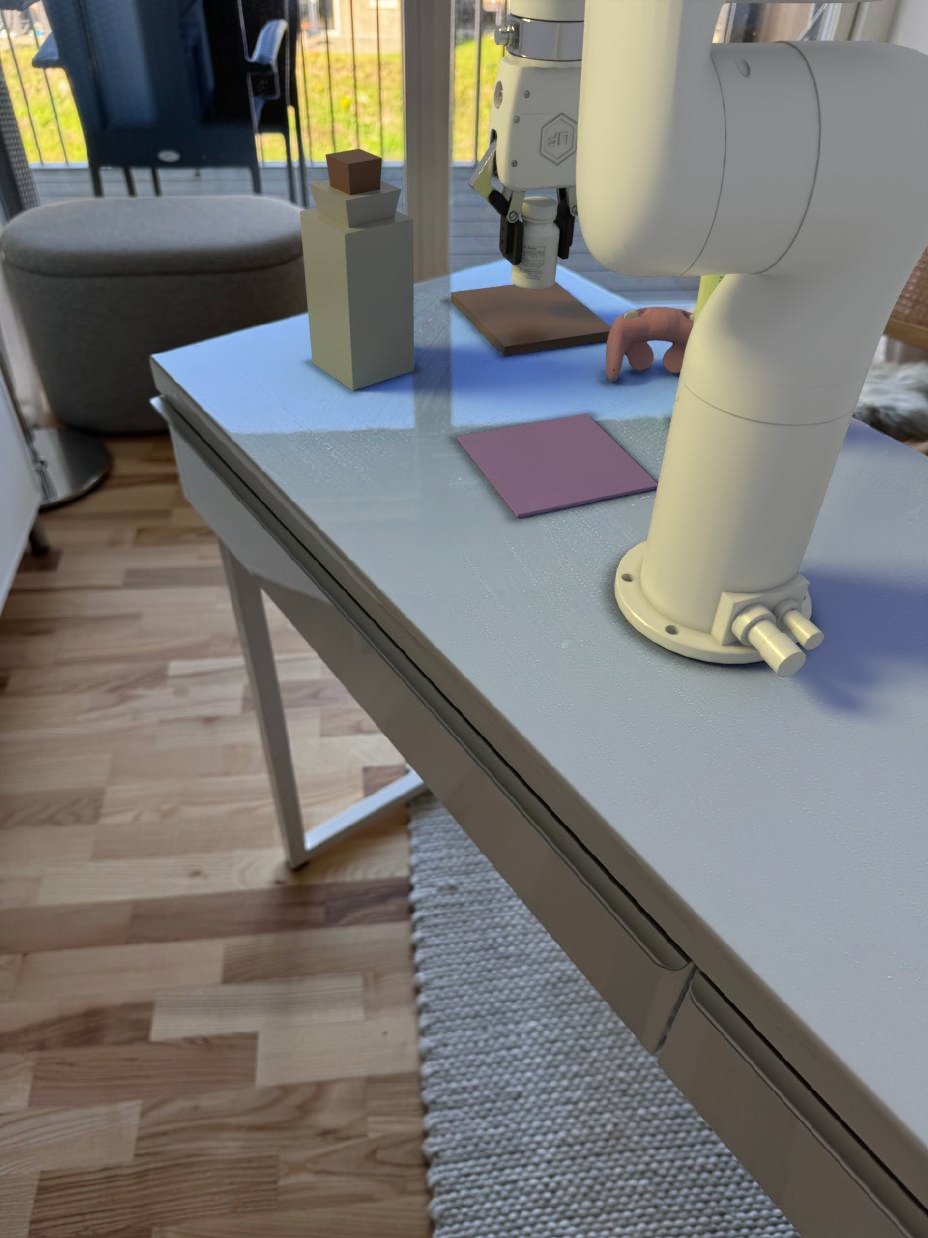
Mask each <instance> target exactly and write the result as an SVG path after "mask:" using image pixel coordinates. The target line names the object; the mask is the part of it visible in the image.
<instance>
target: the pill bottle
mask: <svg viewBox="0 0 928 1238" xmlns="http://www.w3.org/2000/svg"><path fill="white" fill-rule="evenodd" d="M557 204H558V201H557V199H554V198H551V197H548V196H541V195H540V196H539V195H538V196H537V195H536V196H535V195H534V196H527V197H524V201H523V204H522V208H521V212H520V216H519V218H521V220H520V221H521V222H522V223H523V224H524V231H523V245H522V259H521V263H520V264H519V265H512V264H511V277H510V278H511V282H512V285H513V284H514V285H516V286H518V287H520V288H524V289H528V290H543V289H547V288H549V287H551V286H552V285H554V283H555V282H556V275H557V264H558V256H557V255H558V244H559V228H558V226H557V225H556V224H555V223H553V221H554V220H555V219H556V215H557Z"/></svg>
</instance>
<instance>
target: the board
mask: <svg viewBox="0 0 928 1238" xmlns="http://www.w3.org/2000/svg"><path fill="white" fill-rule="evenodd" d="M450 302H451V303H452V304H453V305H454V307H456V308H457V309H458V311H459V312H461V313H462V315H463V316H465V318H466V319H467V320H468V321H469V322H470V323H471V324H472V325H473V326H474V327H475V328H476V329H477V330H478V331H479V332H480V333H481V334H482V335H483V336H484V337H485V338H486V339H487V340H488V342H490V344H492V346H494V348H495V349H496V350H498V352H499V353H500V354H501V355H502V356H503V357H508V356H509V357H510V356H515V355H522V354H523V355H524V354H530V353H535V352H541V351H549V350H555V349H562V348H568V347H569V348H570V347H575V346H582V345H588V344H595V343H602V342H607V340H608V335H609V332H610V329H611V326H612V325H609V324H608V323H607V322H606V321H604V320H603V319H602V318H601V317H600V316H598V315H597V314H596V313H594V312H593V311H592V310H591V309H590V308H589V307H588V306H586V304H584V303H583V302H581V301H580V300H579V299H578V298H576V297H575V296H574V295H573V294H571V293H570V292H569V291H568V290H566V288H564V287H563V286H562V285H561V284H559V283H558V282H557V281H555V283H554V285H552V286H551V287H549V288H547V289H543V290H528V289H524V288H520V287H518V286H516V285H514V284H513V283H512V284H505V285H497V286H490V287H482V288H481V287H480V288H474V289H466V290H459V291H458V290H457V291H451V292H450Z"/></svg>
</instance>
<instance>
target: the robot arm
mask: <svg viewBox="0 0 928 1238" xmlns="http://www.w3.org/2000/svg"><path fill="white" fill-rule="evenodd" d="M880 1H882V0H510V1H509V2H510V3H509V14H507V19H506V23H505V24H503V25H498V26H495V28H494V32H493V39H494V43H495V45H496V46H504V47H505V51H507V56H506V55H505V56H501V58H500V61H499V65H498V69H497V73H496V78H495V82H494V87H493V91H492V97H491V104H490V112H489V120H488V127H487V128H488V129H487V140H486V151H485V153H484V155H483V156H482V158H481V159H480V161H479V162H478V164H477V166H476V167H475V169H474V170H473V172H472V174H471V175H470V177H469V179H468V181H467V184H468V186H469V188H470V189H472V190H473V191H475V192H476V193H477V194H479V195H480V196H481V197H482V198H484V199H485V200H486V201H487V202H488V204H490V205H491V207H492V208H493V209H494V210H495V211H496V213H497V214H498V215H499V216H500V220H499V240H498V249H499V252H500V253H501V255H502V257H503V259H505V260H506V261H508V263H510V264H511V266H512V265H519V264H520V263H521V259H522V245H523V231H524V224H523V223H522V222H521V221H522V220H520V214H521V213H520V212H521V208H522V204H523V201H524V198H526V197H525V196H526V194H527V192H532V191H545V190H555V191H556V201H557V215H556V219H555V220H554V221H553V223H555V224H556V225H557V226H558V228H559V244H558V255H557V258H559V259H561V260H564V261H565V260H568V259H569V257H570V249H571V247H572V246H573V242H574V233H575V223H576V217H578V223H579V227H580V231H581V234H582V238H583V241H584V244H585V245H586V247H587V249H588V252H589V253H590V254H591V256H592V257H593V258H594V259H595V260H596V262H597V263H599V264H600V265H601V266H602V267H603V268H605V269H606V270H608V271H610V272H612V273H614V274H618V275H622V276H625V277H633V278H680V277H681V278H683V277H685V278H686V277H701V276H704V275H724V274H726V275H725V276H724V278H723V279H722V280H721V282H720V283H719V285H718V286H717V287H716V289H715V290H714V291H713V293H712V294H711V296H710V297H709V299H708V300H707V302H706V303H705V305H704V306H703V308H702V310H701V312H700V314H699V316H698V318H697V320H696V322H695V324H694V326H693V328H692V331H691V333H690V336H689V339H688V342H687V346H686V349H685V354H684V359H683V364H682V368H681V372H679V378H678V382H677V388H676V393H675V397H674V402H673V407H672V413H671V417H670V423H669V427H668V432H667V438H666V442H665V447H664V452H663V457H662V463H661V468H660V473H659V477H658V483H657V484H658V487H657V489H656V492H655V499H654V502H653V503H654V504H653V508H652V512H651V517H650V523H649V528H648V532H647V537H646V539H645V540H643V541H640V542H639V543H638V544H636V545H634V546H633V547H632V548H631V549H629V550H628V551H627V552H626V553H625V555H624V556H622V558H621V560H620V561H619V564H618V566H617V569H616V573H615V578H614V583H613V584H614V597H615V601H616V603H617V605H618V608H619V610H620V611H621V613H622V614H623V616H624V617H625V619H626V620H627V621H628V622H629V623H630V624H631V625H632V626H633V627H634V628H635V630H636V631H638V632H639V633H640V634H642V635H643V636H644V637H646V639H647V638H648V639H649V640H650V641H651V642H653V643H655V644H657V645H659V646H661V647H662V648H663V649H666V650H668V651H671V652H674V653H677V654H679V655H681V656H684V657H687V658H691V659H695V660H699V661H702V662H708V663H715V664H716V663H717V664H724V665H726V664H727V665H728V664H729V665H730V664H731V665H732V664H734V665H735V664H751V663H756V662H765V663H766V664H767V665H768V666H769V667H770V668H771V669H772V670H773V671H774V673H775V674H777V676H778V677H781V678H788V677H790V676H792V675H794V674H796V673H797V672H798V671H799V670H801V669H802V668H803V666H804V665H805V663H806V661H807V654H806V653H805V652H804V650H802V649H801V648H800V647H799V646H798V645H797V643H799V644H800V645H801V646H802V647H803V648H804V649H805V650H806V651H812V650H814V649H816V648H817V647H819V646H820V645H821V644H822V643H823V641H824V640H825V634H824V633H823V632H822V631H821V630H820V629H819V628H818V627H817V626H816V625H815V624H814V623H813V622H812V621H811V620H810V619H811V616H812V599H811V595H810V592H809V590H808V589H809V586H810V583H811V582H810V581H809V580H808V579H807V578H806V577H805V576H804V575H803V574H802V573H801V572H800V570H801V567H802V563H803V562H804V558H805V555H806V553H807V550H808V547H809V543H810V540H811V539H812V538H811V537H812V535H813V532H814V528H815V526H816V524H817V520H818V518H819V514H820V511H821V509H822V506H823V503H824V500H825V498H826V494H827V491H828V488H829V485H830V483H831V479H832V476H833V475H834V470H835V468H836V464H837V461H838V460H839V456H840V452H841V450H842V448H843V445H844V443H845V438H846V436H847V432H848V430H849V428H850V424H851V422H852V418H853V415H854V413H855V410H856V407H857V404H858V403H859V400H860V397H861V394H862V391H863V388H864V385H865V382H866V380H867V377H868V374H869V371H870V368H871V366H872V363H873V360H874V357H875V354H876V352H877V349H878V346H879V344H880V341H881V339H882V336H883V334H884V332H885V330H886V327H887V325H888V322H889V319H890V317H891V315H892V312H893V310H894V308H895V306H896V304H897V302H898V300H899V297H900V295H901V294H902V292H903V290H904V287H905V286H906V284H907V282H908V281H909V278H910V276H911V275H912V273H913V271H914V269H915V268H916V266H917V264H918V262H919V260H920V259H921V257H922V255H923V254H924V252H925V250H926V248H927V246H928V54H926V53H924V52H922V51H919V50H917V49H915V48H911V47H909V46H904V45H900V44H895V43H891V42H880V41H872V40H777V41H772V42H714V39H715V38H714V37H715V33H716V29H717V25H718V23H719V22H718V21H719V18H720V15H721V12H722V8H723V6H724V5H725V4H854V3H855V4H856V3H858V4H859V3H873V2H880ZM492 178H494V179H497V180H499V182H500V183H501V186H500V190H498V189H497V188H496V187H494V186H493V185H492V183H491V180H492Z"/></svg>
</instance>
